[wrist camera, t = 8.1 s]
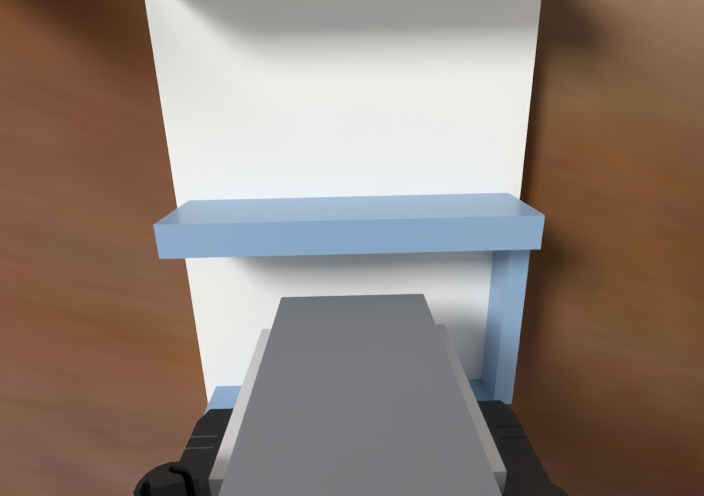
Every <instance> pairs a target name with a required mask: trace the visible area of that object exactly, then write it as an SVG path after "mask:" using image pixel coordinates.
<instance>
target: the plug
mask: <svg viewBox="0 0 704 496" xmlns="http://www.w3.org/2000/svg"><path fill="white" fill-rule="evenodd" d="M218 496H502V494H501V492H500V489H499V487H498V484H497V482H496V479H495V477H494V474H493V471H492V469H491V466H490V464H489V461H488V459H487V456H486V453H485V451H484V448H483V446H482V443H481V441H480V438H479V435H478V433H477V430H476V428H475V425H474V423H473V420H472V417H471V415H470V412H469V410H468V407H467V405H466V402H465V399H464V397H463V394H462V392H461V389H460V387H459V384H458V382H457V379H456V376H455V374H454V371H453V369H452V366H451V364H450V361H449V358H448V356H447V353H446V351H445V348H444V346H443V343H442V340H441V338H440V335H439V333H438V330H437V328H436V325H435V322H434V320H433V317H432V315H431V312H430V310H429V307H428V304H427V302H426V299H425V297H424V294H389V295H349V296H309V297H281V300H280V303H279V306H278V310H277V313H276V316H275V319H274V322H273V325H272V329H271V332H270V335H269V338H268V341H267V344H266V347H265V351H264V354H263V357H262V360H261V363H260V366H259V369H258V373H257V376H256V379H255V382H254V385H253V388H252V392H251V395H250V398H249V401H248V404H247V407H246V410H245V414H244V417H243V420H242V423H241V426H240V429H239V432H238V436H237V439H236V442H235V445H234V448H233V451H232V455H231V458H230V461H229V464H228V467H227V470H226V473H225V477H224V480H223V483H222V486H221V489H220V492H219V495H218Z"/></svg>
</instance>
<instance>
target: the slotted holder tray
mask: <svg viewBox="0 0 704 496" xmlns="http://www.w3.org/2000/svg"><path fill="white" fill-rule="evenodd" d="M145 4H146V10H147V17H148V23H149V30H150V36H151V42H152V49H153V55H154V61H155V68H156V74H157V80H158V87H159V93H160V100H161V106H162V112H163V119H164V125H165V131H166V138H167V144H168V150H169V157H170V163H171V170H172V176H173V182H174V189H175V195H176V201H177V209H176V210H174V211H173V212H171V213H170V214H168V215H167V216H166V217H164V218H163V219H161V220H160V221H158V222H157V223H155V224H154V231H155V237H156V242H157V248H158V253H159V259H170V258H185V259H186V265H187V271H188V278H189V284H190V291H191V297H192V303H193V310H194V316H195V322H196V329H197V335H198V341H199V348H200V354H201V361H202V367H203V373H204V380H205V386H206V392H207V399H208V406H207V408H206V411H205V413H204V415H205V414H206V413H207V412H208V411H209V410H210V409H229V408H234V407H235V404H236V401H237V398H238V395H239V393H240V390H241V387H242V384H243V381H244V379H245V376H246V373H247V370H248V367H249V365H250V362H251V359H252V356H253V353H254V350H255V348H256V345H257V342H258V339H259V336H260V334H261V331H262V329H272V325H273V322H274V319H275V316H276V313H277V310H278V306H279V303H280V300H281V297H309V296H349V295H389V294H424V297H425V299H426V302H427V304H428V307H429V310H430V312H431V315H432V317H433V320H434V322H435V325H436V324H444V326H445V328H446V330H447V333H448V335H449V337H450V340H451V342H452V344H453V347H454V349H455V351H456V354H457V356H458V358H459V361H460V363H461V365H462V368H463V370H464V372H465V375H466V377H467V380H468V382H469V384H470V387H471V389H472V391H473V394H474V396H475V398H476V401H489V400H501V401H502V402H503V403H504V404H512V397H513V389H514V381H515V373H516V364H517V356H518V348H519V339H520V331H521V323H522V315H523V306H524V298H525V290H526V281H527V273H528V265H529V257H530V250H532V249H541V241H542V234H543V226H544V218H545V215H543V214H542V213H540V212H539V211H537V210H535V209H534V208H532V207H530V206H529V205H527V204H526V203H524V202H522V201H521V200H520V192H521V183H522V173H523V164H524V155H525V145H526V136H527V127H528V118H529V108H530V99H531V90H532V81H533V71H534V62H535V53H536V43H537V34H538V25H539V16H540V6H541V0H145ZM204 415H203V416H204Z"/></svg>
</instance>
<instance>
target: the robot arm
mask: <svg viewBox="0 0 704 496" xmlns="http://www.w3.org/2000/svg"><path fill="white" fill-rule="evenodd" d="M436 328H437V330H438V333H439V335H440V338H441V340H442V343H443V346H444V348H445V351H446V353H447V356H448V358H449V361H450V364H451V366H452V369H453V371H454V374H455V376H456V379H457V382H458V384H459V387H460V389H461V392H462V394H463V397H464V399H465V402H466V405H467V407H468V410H469V412H470V415H471V417H472V420H473V423H474V425H475V428H476V430H477V433H478V435H479V438H480V441H481V443H482V446H483V448H484V451H485V453H486V456H487V459H488V461H489V464H490V466H491V469H492V471H493V474H494V477H495V479H496V482H497V484H498V487H499V489H500V492H501V494H502V496H569V495H568V494H567V493H566V492H565V491H564V490H563V489H561V488H559V487H558V486H556V485H554V484H553V483H551V481H550V480H549V478H548V476H547V474H546V472H545V470H544V468H543V466H542V465H541V463H540V461H539V459H538V457H537V455H536V453H535V451H534V449H533V448H532V446H531V444H530V442H529V440H528V439H527V436H526V434H525V432H524V431H523V429H522V428H521V425H520V423H519V421H518V419H517V417H516V415H515V414H514V412H513V411H512V410H511V409H510V408H509V407H508V406H506V405H505V404H504V403H503V402H502V401H501V400H489V401H476V398H475V396H474V394H473V391H472V389H471V387H470V384H469V382H468V380H467V377H466V375H465V372H464V370H463V368H462V365H461V363H460V361H459V358H458V356H457V354H456V351H455V349H454V347H453V344H452V342H451V340H450V337H449V335H448V333H447V330H446V328H445V326H444V324H436ZM270 332H271V329H262V331H261V334H260V336H259V339H258V342H257V345H256V348H255V350H254V353H253V356H252V359H251V362H250V365H249V367H248V370H247V373H246V376H245V379H244V381H243V384H242V387H241V390H240V393H239V395H238V398H237V401H236V404H235V407H234V408H229V409H210V410H209V411H208V412H207V413H206V414H205V415H204V416H202V417H201V418H200V419H199V420H198V422H197V424H196V426H195V428H194V430H193V433H192V435H191V438H190V439H189V441H188V444H187V446H186V450H184V452H183V455H182V457H181V459H180V461H179V462H169V463H166V464H163V465H160V466H158V467H156V468H154V469H153V470H151V471H150V472H148V473H147V474H146V475H145V476H144V477H143V478H142V479H141V480H140V481H139V482H138V484H137V486H136V488H135V490H134V492H133V493H134V496H218V495H219V492H220V489H221V486H222V483H223V480H224V477H225V473H226V470H227V467H228V464H229V461H230V458H231V455H232V451H233V448H234V445H235V442H236V439H237V436H238V432H239V429H240V426H241V423H242V420H243V417H244V414H245V410H246V407H247V404H248V401H249V398H250V395H251V392H252V388H253V385H254V382H255V379H256V376H257V373H258V369H259V366H260V363H261V360H262V357H263V354H264V351H265V347H266V344H267V341H268V338H269V335H270Z"/></svg>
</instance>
